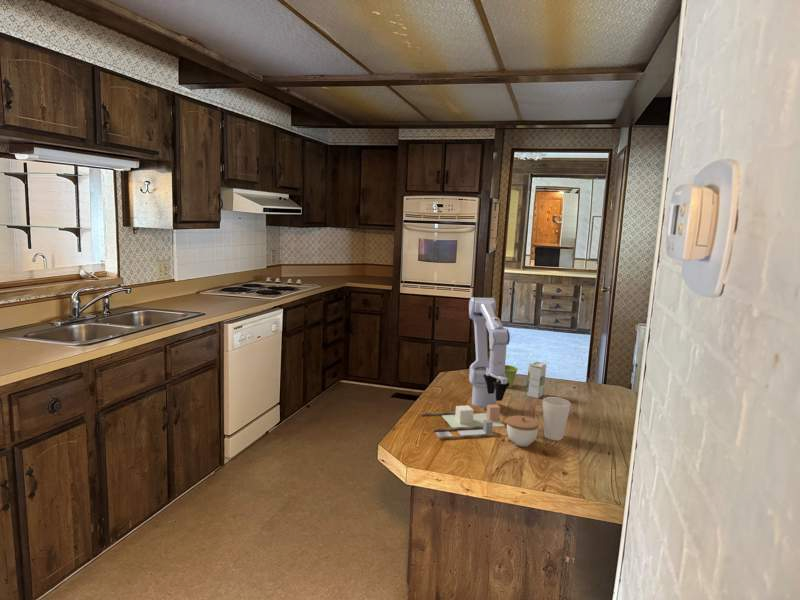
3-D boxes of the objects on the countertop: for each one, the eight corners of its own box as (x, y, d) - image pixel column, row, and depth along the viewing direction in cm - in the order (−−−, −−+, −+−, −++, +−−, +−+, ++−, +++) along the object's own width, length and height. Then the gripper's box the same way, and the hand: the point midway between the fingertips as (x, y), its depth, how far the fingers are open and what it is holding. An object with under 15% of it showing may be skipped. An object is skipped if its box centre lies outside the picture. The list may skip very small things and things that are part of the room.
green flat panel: (490, 414, 213) (491, 399, 212) (505, 427, 201) (506, 412, 200) (441, 417, 208) (442, 402, 207) (453, 431, 196) (454, 414, 195)
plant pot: (518, 385, 253) (519, 366, 252) (513, 390, 245) (515, 371, 243) (498, 381, 257) (499, 363, 256) (493, 387, 249) (494, 368, 247)
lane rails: (472, 415, 213) (472, 410, 213) (497, 439, 191) (497, 434, 191) (420, 417, 208) (420, 413, 208) (439, 443, 186) (439, 438, 186)
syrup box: (530, 392, 243) (533, 360, 241) (543, 395, 240) (546, 363, 238) (525, 395, 239) (528, 363, 236) (538, 399, 235) (541, 366, 233)
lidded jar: (540, 440, 192) (542, 414, 190) (533, 452, 182) (536, 425, 181) (509, 434, 196) (511, 408, 195) (501, 445, 186) (503, 418, 185)
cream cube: (467, 418, 207) (468, 405, 206) (472, 423, 202) (473, 410, 201) (455, 418, 205) (455, 405, 205) (459, 423, 201) (460, 410, 200)
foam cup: (552, 443, 189) (555, 407, 187) (534, 433, 197) (537, 398, 195) (573, 439, 194) (576, 404, 192) (554, 430, 202) (557, 395, 200)
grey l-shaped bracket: (488, 431, 197) (489, 418, 196) (494, 436, 192) (495, 423, 192) (456, 433, 194) (457, 420, 193) (461, 438, 189) (462, 425, 189)
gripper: (479, 356, 209) (477, 390, 211) (495, 367, 195) (492, 404, 197) (496, 355, 211) (494, 390, 213) (513, 366, 197) (511, 403, 199)
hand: (494, 396), depth 205 cm, fingers open, 7 cm apart
